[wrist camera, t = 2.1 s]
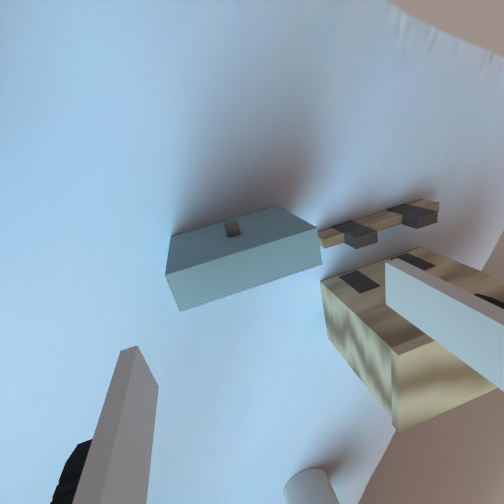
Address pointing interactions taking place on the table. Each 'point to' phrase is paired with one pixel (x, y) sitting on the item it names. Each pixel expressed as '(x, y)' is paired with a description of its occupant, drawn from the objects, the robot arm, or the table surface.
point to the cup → (310, 488)
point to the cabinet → (399, 323)
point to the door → (239, 255)
